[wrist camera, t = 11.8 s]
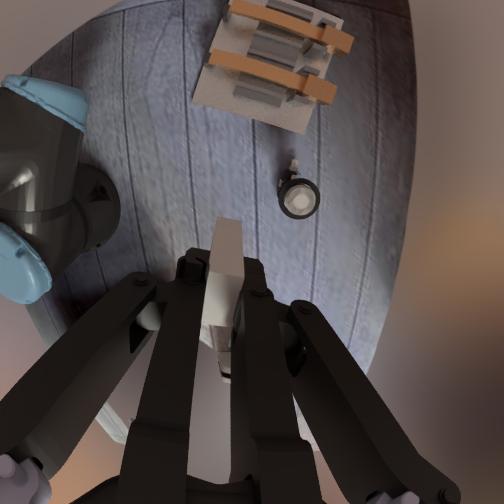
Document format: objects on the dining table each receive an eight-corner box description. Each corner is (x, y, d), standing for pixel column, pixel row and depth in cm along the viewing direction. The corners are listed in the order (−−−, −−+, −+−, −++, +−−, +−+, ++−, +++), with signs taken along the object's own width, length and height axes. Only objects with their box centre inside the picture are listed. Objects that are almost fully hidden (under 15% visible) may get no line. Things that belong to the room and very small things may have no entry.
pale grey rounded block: (218, 366, 60) (216, 390, 50) (218, 348, 60) (216, 370, 50) (292, 367, 61) (301, 390, 52) (294, 349, 61) (304, 370, 51)
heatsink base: (192, 102, 37) (184, 99, 31) (236, -13, 29) (236, -31, 23) (302, 135, 40) (313, 138, 34) (341, 22, 32) (356, 9, 26)
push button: (277, 155, 41) (288, 165, 32) (310, 163, 42) (330, 175, 33) (267, 196, 44) (275, 217, 35) (300, 203, 45) (315, 225, 36)
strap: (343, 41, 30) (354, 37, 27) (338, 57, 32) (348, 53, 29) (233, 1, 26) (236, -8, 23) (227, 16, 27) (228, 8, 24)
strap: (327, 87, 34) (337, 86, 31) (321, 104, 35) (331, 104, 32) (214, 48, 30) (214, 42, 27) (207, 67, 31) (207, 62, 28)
